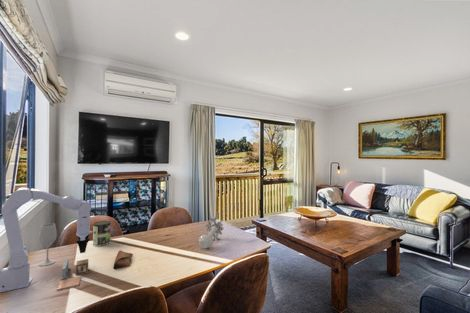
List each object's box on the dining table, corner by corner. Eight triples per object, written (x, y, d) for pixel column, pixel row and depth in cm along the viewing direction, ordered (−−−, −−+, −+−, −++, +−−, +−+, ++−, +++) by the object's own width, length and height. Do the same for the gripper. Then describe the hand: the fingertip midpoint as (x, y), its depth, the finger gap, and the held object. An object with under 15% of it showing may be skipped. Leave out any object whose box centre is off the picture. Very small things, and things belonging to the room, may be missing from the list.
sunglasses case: (131, 266, 120) (124, 256, 119) (118, 275, 118) (111, 265, 116) (132, 253, 137) (126, 244, 135) (121, 260, 134) (115, 252, 133)
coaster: (56, 290, 98) (56, 289, 98) (59, 282, 104) (59, 280, 104) (78, 285, 102) (79, 284, 102) (80, 277, 109) (80, 276, 109)
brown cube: (75, 275, 111) (76, 265, 111) (76, 270, 115) (76, 261, 115) (87, 272, 113) (88, 262, 113) (88, 268, 118) (88, 258, 118)
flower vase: (210, 260, 144) (224, 237, 167) (213, 236, 139) (226, 216, 162) (192, 253, 147) (208, 232, 170) (194, 230, 142) (210, 211, 165)
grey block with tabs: (59, 281, 105) (60, 269, 105) (63, 270, 116) (63, 259, 116) (67, 279, 107) (67, 267, 107) (70, 268, 117) (70, 258, 117)
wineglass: (41, 261, 125) (42, 223, 125) (58, 258, 128) (58, 222, 128) (35, 267, 118) (36, 227, 118) (53, 264, 121) (54, 226, 121)
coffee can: (113, 240, 157) (113, 220, 157) (104, 246, 147) (104, 225, 147) (98, 240, 157) (99, 220, 157) (89, 246, 147) (89, 224, 147)
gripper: (92, 226, 114) (91, 253, 114) (92, 219, 126) (92, 243, 126) (75, 228, 110) (74, 256, 110) (77, 221, 122) (76, 246, 122)
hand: (83, 249), depth 118 cm, fingers open, 7 cm apart
